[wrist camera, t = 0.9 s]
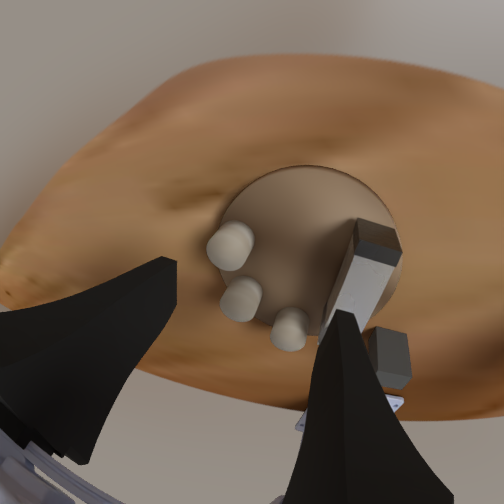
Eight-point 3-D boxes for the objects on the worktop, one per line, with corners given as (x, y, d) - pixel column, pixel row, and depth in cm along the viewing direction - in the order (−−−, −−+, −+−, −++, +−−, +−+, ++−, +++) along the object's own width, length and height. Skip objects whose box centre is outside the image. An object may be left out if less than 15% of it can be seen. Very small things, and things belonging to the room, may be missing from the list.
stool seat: (360, 339, 20) (360, 371, 18) (215, 297, 22) (199, 324, 19) (426, 199, 14) (441, 220, 12) (234, 145, 16) (214, 156, 13)
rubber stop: (398, 346, 20) (401, 389, 16) (368, 339, 20) (368, 383, 17) (406, 334, 19) (412, 377, 16) (376, 326, 19) (378, 370, 16)
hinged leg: (351, 327, 18) (349, 358, 16) (318, 318, 18) (313, 349, 16) (395, 229, 14) (404, 254, 12) (356, 216, 14) (358, 240, 12)
